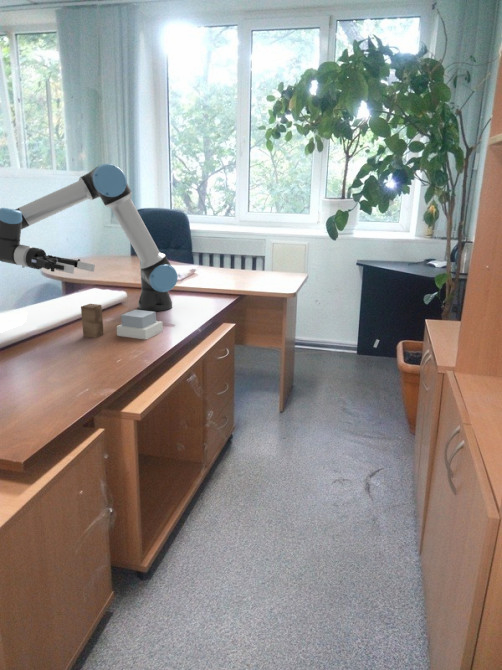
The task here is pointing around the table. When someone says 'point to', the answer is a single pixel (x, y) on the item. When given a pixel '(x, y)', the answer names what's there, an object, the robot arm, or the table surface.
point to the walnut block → (92, 320)
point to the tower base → (140, 331)
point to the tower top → (138, 318)
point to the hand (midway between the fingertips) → (84, 268)
